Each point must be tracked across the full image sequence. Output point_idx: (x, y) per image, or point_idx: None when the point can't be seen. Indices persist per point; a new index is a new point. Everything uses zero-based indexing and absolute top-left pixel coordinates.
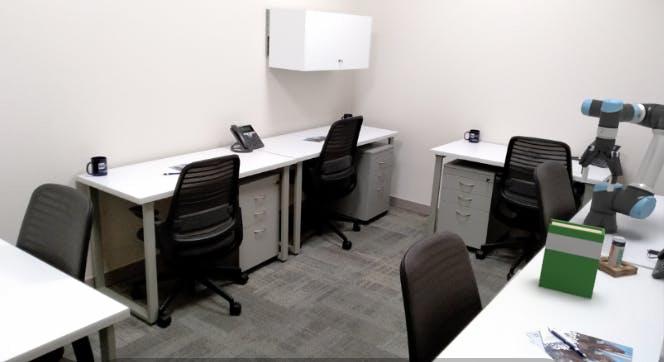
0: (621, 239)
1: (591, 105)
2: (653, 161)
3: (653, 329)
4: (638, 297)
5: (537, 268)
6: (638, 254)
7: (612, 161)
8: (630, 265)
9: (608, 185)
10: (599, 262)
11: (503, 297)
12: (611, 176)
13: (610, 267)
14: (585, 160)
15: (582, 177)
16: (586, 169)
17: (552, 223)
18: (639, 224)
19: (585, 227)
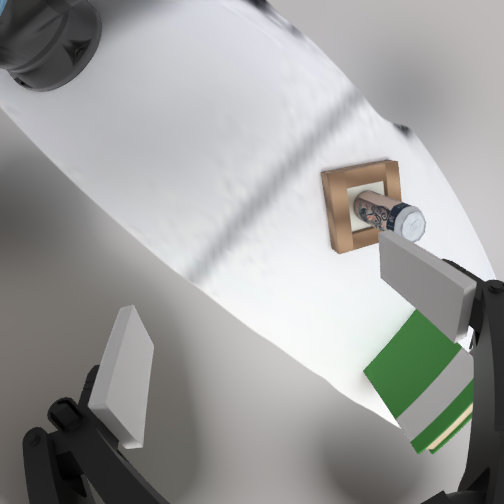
0: (424, 232)
1: None
2: None
3: (491, 277)
4: (451, 238)
5: (328, 364)
6: (272, 45)
7: None
8: (385, 171)
9: (408, 296)
10: (361, 244)
11: (387, 416)
12: (464, 334)
13: None
14: (69, 488)
15: (146, 374)
16: (129, 413)
17: (427, 448)
18: None
19: (467, 404)
